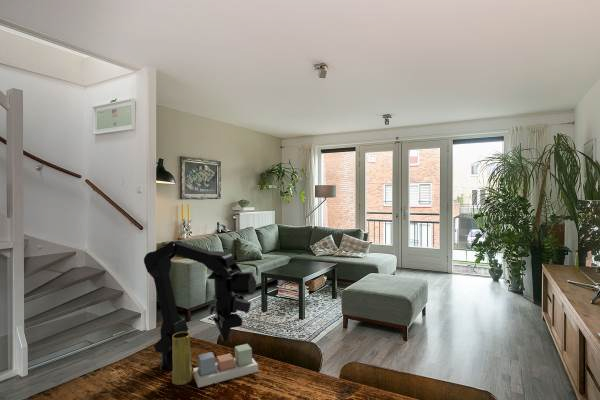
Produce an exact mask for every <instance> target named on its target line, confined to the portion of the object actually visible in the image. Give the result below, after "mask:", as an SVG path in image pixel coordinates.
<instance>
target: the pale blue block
mask: <svg viewBox="0 0 600 400" xmlns="http://www.w3.org/2000/svg"><path fill="white" fill-rule="evenodd" d="M215 363H216V356H215V355H214V353H213V352H212V351H209V352H205V353H202V354H201V353H200V354H198V355H197V367H198V371H199V373H200V375H201V376H200V377H202V376H206V375H210V374H213V373H216V368H215Z"/></svg>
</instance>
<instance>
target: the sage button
mask: <svg viewBox="0 0 600 400" xmlns="http://www.w3.org/2000/svg"><path fill="white" fill-rule="evenodd" d="M234 358H235V362H236V363H237V365H238V367H241V366H244V365H248V364H252V358H253V349H252V347H251V346H250V344H248V343H244V344H240V345H236V346H234Z"/></svg>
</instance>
